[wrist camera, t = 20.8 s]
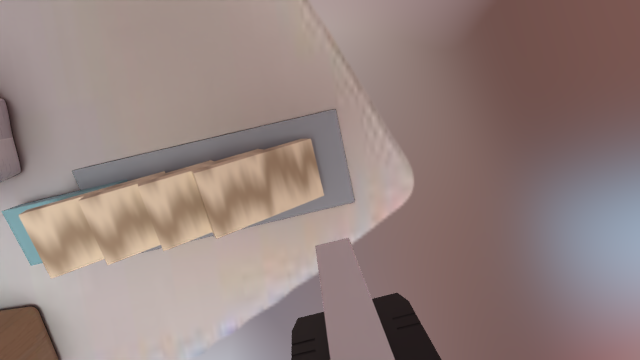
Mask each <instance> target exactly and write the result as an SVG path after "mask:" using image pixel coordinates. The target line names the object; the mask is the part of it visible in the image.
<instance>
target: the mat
mask: <svg viewBox="0 0 640 360" xmlns="http://www.w3.org/2000/svg"><path fill="white" fill-rule="evenodd" d="M299 139H311V141H312V146H313V150H314V154H315V158H316V163H317V167H318V171H319V175H320V180H321V184H322V188H323V193H324V196H322V197H319V198H317V199H314V200H312V201H310V202H307V203H305V204H302V205H300V206H297V207H295V208H292V209H290V210H287V211H285V212H282V213H280V214H277V215H275V216H272V217H270V218H267V219H265V220H262V221H260V222H257V223H255V224H252V225H250V226H247V227H245V228H248V227H252V226H256V225H260V224H265V223H269V222H273V221H277V220H281V219H286V218H290V217H294V216H298V215H302V214H307V213H311V212H315V211H319V210H323V209H328V208H332V207H336V206H340V205H344V204H349V203H353V202H355V201H354V196H353V191H352V186H351V181H350V176H349V171H348V167H347V162H346V157H345V152H344V147H343V142H342V137H341V133H340V128H339V123H338V118H337V113H336V109H333V110H329V111H325V112H320V113H316V114H312V115H308V116H303V117H299V118H295V119H290V120H286V121H282V122H278V123H273V124H269V125H265V126H261V127H256V128H252V129H248V130H243V131H239V132H235V133H231V134H226V135H222V136H218V137H214V138H209V139H205V140H201V141H197V142H192V143H188V144H184V145H179V146H175V147H171V148H167V149H162V150H158V151H154V152H150V153H145V154H141V155H137V156H132V157H128V158H124V159H120V160H115V161H111V162H107V163H103V164H98V165H94V166H90V167H85V168H81V169H77V170H73V171H72V173H73V175H74V177H75V179H76V182H77V184H78V186H79V188H80V190H84V189H88V188H92V187H97V186H101V185H105V184H109V183H114V182H118V181H122V180H126V179H127V180H128V181H131V180H134V179H138V178H141V177H145V176H149V175H152V174H156V173H159V172H163V171H165V173H168V172H171V171H175V170H178V169H182V168H185V167H189V166H192V165H195V164H199V163H202V162H206V161H209V160H212V161H217V160H221V159H224V158H228V157H231V156H235V155H238V154H242V153H245V152H249V151H252V150H255V149H263V150H265V149H268V148H271V147H275V146H278V145H282V144H285V143H288V142H292V141H295V140H299ZM242 229H244V228H242ZM210 236H214V234H213V232H212V233H209V234H206V235H204V236H201V237H199V238H196V239H194V240H197V239H202V238H206V237H210ZM191 241H193V240H191ZM188 242H189V241H188ZM159 248H162V246H161V245H159V246H157V247H154V248H151V249H149V250H146V251H144V252H147V251H151V250H155V249H159ZM141 253H143V252H141Z"/></svg>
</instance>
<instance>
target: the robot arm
mask: <svg viewBox="0 0 640 360" xmlns="http://www.w3.org/2000/svg"><path fill="white" fill-rule="evenodd" d="M315 247H316V254H317V262H318V269H319V277H320V284H321V291H322V300H323V307H324V312H321V313H317V314H314V315H309V316H305V317H301V318H298V319H297V321H296V324H295V326H294V328H293V330H292V359H291V360H441V358H440V356H439V355H438V353H437V351H436V349H435V347H434V346H433V344H432V342H431V340H430V339H429V337H428V335H427V333H426V331H425V330H424V328H423V326H422V325H421V323H420V321H419V319H418V317H417V315H416V314H415V312H414V310H413V308H412V306H411V305H410V303H409V301H408V300H406V299H405V298H404V297H402V296H401V295H399V294H398V293H395V294H390V295H386V296H382V297H378V298H374V299H371V295H370V293H369V290H368V288H367V285H366V282H365V280H364V277H363V274H362V272H361V269H360V267H359V264H358V262H357V259H356V256H355V253H354V251H353V248H352V246H351V243H350V240H349V238H346V239H342V240H338V241H334V242H329V243H325V244H321V245H317V246H315Z"/></svg>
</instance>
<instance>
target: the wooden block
mask: <svg viewBox="0 0 640 360" xmlns="http://www.w3.org/2000/svg"><path fill="white" fill-rule="evenodd" d="M0 360H58V357H57V355H56V352H55V350H54V348H53V345H52V343H51V340H50V338H49V335H48V333H47V331H46V328H45V326H44V323H43V321H42V319H41V316H40V314H39V311H38V310H37V309H36V308H35V307H31V306H30V307H23V308H16V309H8V310H1V311H0Z"/></svg>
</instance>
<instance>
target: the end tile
mask: <svg viewBox="0 0 640 360" xmlns="http://www.w3.org/2000/svg"><path fill="white" fill-rule="evenodd" d="M127 181H128V180H127V179H126V180H122V181H118V182H114V183H109V184H105V185H101V186H97V187H92V188H88V189H84V190H80V191H76V192H71V193H67V194H63V195H59V196H54V197H50V198H46V199H42V200H38V201H33V202H29V203H25V204H21V205H18V206H15V207H12V208H10V209H7V210H4V211H2V213H3V215H4V217H5V219H6V220H7V222H8V224H9V226H10V228H11V230H12V232H13V233H14V235H15V237H16V239H17V241H18V243H19V245H20V246H21V248H22V250H23V252H24V254H25V256H26V258H27V259H28V261H29V263H30V265H31V266H32V265H36V264H40V263H43V262H42V260H41V258H40V256H39V254H38V252H37V250H36V248H35V246H34V245H33V243H32V241H31V239H30V237H29V235H28V233H27V231H26V229H25V227H24V225H23V223H22V222H21V220H20V218H19V216H18V215H19V214H21V213H22V212H24V211H26V210H28V209H32V208H35V207H39V206H42V205H46V204H49V203H53V202H56V201H60V200H63V199H67V198H71V197H74V196H78V195H81V194H85V193H88V192H92V191H95V190H99V189H102V188H106V187H110V186H113V185H117V184H120V183H124V182H127Z"/></svg>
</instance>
